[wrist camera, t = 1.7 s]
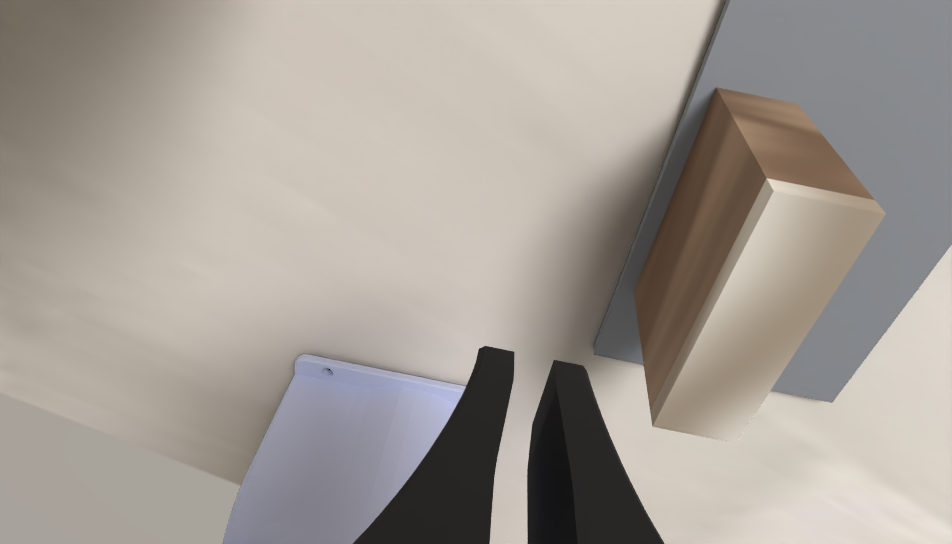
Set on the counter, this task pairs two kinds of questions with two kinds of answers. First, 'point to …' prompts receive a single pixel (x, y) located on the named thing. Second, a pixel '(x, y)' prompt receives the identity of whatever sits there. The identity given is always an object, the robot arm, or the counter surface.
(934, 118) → the mat
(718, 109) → the slab
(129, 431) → the counter surface
